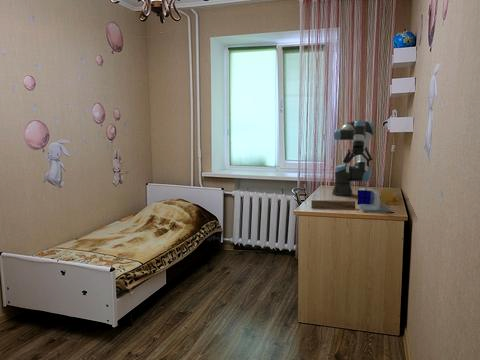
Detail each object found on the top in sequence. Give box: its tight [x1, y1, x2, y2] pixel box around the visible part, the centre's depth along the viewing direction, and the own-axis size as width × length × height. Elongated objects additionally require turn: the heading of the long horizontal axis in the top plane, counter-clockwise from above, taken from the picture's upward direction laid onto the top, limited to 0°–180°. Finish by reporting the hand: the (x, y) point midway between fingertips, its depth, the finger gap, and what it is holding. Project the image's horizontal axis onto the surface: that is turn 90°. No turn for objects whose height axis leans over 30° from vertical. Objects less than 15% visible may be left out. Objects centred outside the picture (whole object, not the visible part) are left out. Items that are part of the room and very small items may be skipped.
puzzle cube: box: [356, 187, 372, 205], centre depth 277 cm, size 10×10×10 cm
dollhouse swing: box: [380, 189, 401, 206], centre depth 277 cm, size 10×10×9 cm
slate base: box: [359, 203, 391, 214], centre depth 259 cm, size 18×16×2 cm
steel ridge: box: [370, 188, 381, 210], centre depth 258 cm, size 18×3×10 cm, turn 170°
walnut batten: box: [310, 199, 356, 210], centre depth 265 cm, size 4×28×5 cm, turn 80°
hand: (356, 171), depth 274 cm, fingers open, 13 cm apart
